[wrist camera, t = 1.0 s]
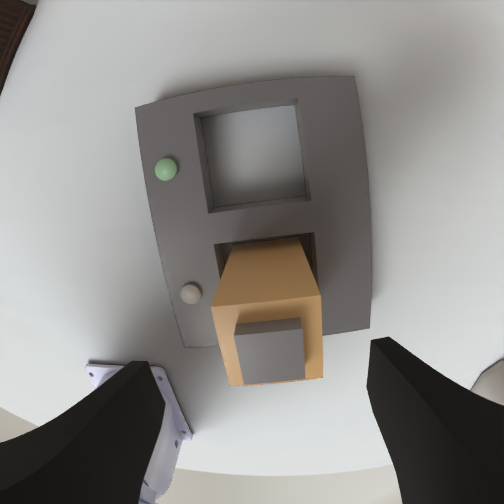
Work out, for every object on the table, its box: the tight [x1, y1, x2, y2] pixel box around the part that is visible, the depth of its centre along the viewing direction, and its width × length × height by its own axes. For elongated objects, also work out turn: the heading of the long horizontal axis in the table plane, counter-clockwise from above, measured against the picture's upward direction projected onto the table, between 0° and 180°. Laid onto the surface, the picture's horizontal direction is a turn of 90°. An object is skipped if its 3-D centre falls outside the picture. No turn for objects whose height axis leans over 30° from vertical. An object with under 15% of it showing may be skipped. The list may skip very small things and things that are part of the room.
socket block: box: [135, 76, 372, 348], centre depth 17 cm, size 15×12×2 cm
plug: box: [211, 237, 323, 386], centre depth 15 cm, size 4×4×9 cm
